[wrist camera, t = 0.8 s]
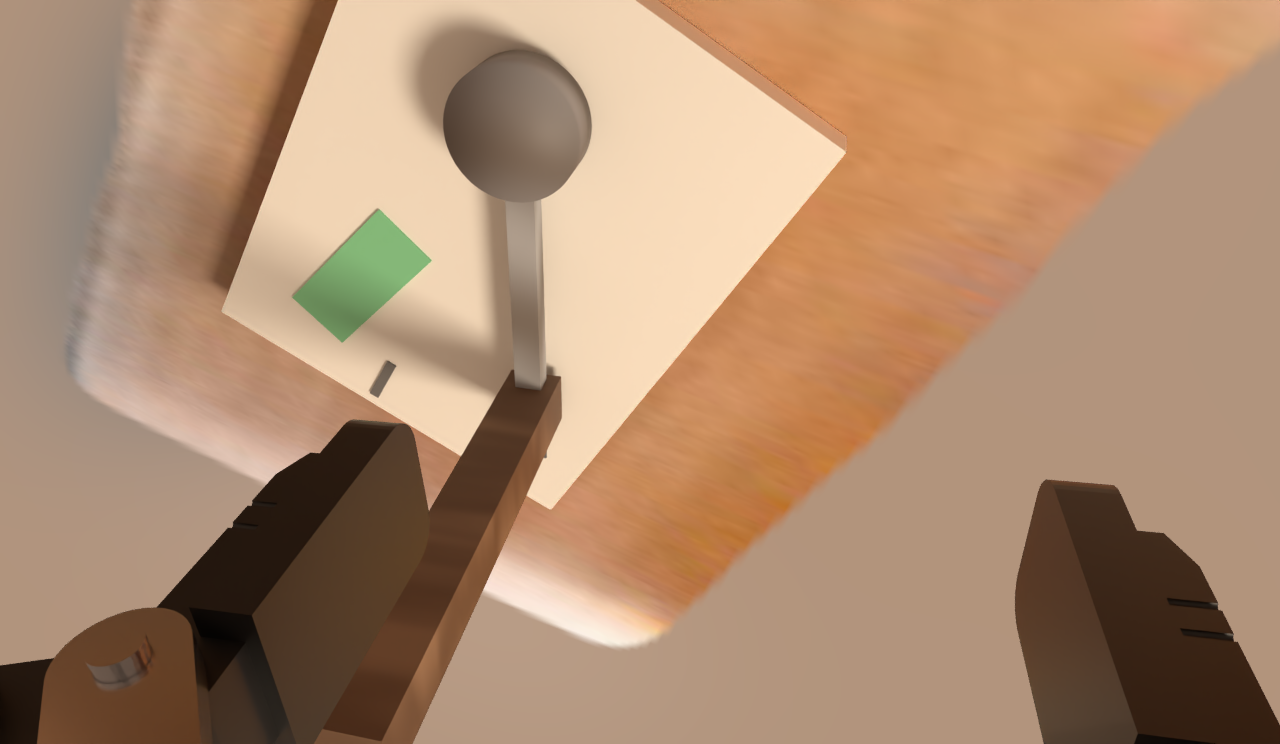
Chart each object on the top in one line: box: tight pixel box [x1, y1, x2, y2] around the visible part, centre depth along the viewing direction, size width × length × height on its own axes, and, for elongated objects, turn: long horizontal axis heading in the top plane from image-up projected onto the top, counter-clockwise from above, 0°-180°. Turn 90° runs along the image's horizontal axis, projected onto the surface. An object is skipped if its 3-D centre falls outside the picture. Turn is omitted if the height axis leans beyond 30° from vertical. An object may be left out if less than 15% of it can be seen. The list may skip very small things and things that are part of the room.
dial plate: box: [221, 0, 847, 510], centre depth 33 cm, size 20×16×2 cm
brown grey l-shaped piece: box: [314, 50, 592, 744], centre depth 25 cm, size 15×4×16 cm, turn 178°
